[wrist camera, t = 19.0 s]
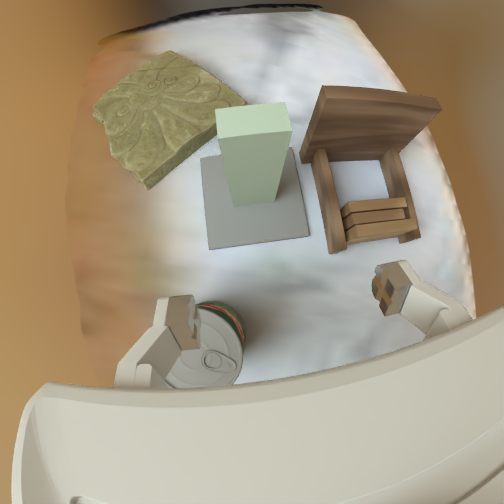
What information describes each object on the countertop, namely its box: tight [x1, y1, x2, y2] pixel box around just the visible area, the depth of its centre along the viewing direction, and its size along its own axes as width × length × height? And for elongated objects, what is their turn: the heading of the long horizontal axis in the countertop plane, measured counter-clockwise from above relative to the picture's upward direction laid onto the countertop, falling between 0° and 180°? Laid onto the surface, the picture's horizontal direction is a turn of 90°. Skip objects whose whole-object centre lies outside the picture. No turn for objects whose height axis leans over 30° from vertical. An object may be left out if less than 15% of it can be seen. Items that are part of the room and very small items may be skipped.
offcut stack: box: [340, 197, 417, 244], centre depth 30 cm, size 4×8×6 cm, turn 98°
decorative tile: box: [93, 51, 247, 190], centre depth 34 cm, size 19×20×4 cm
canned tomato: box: [164, 301, 245, 389], centre depth 26 cm, size 8×8×11 cm
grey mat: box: [200, 147, 309, 250], centre depth 33 cm, size 12×12×1 cm
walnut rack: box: [299, 85, 442, 254], centre depth 27 cm, size 14×14×14 cm
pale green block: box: [215, 102, 292, 207], centre depth 25 cm, size 3×5×16 cm, turn 98°
